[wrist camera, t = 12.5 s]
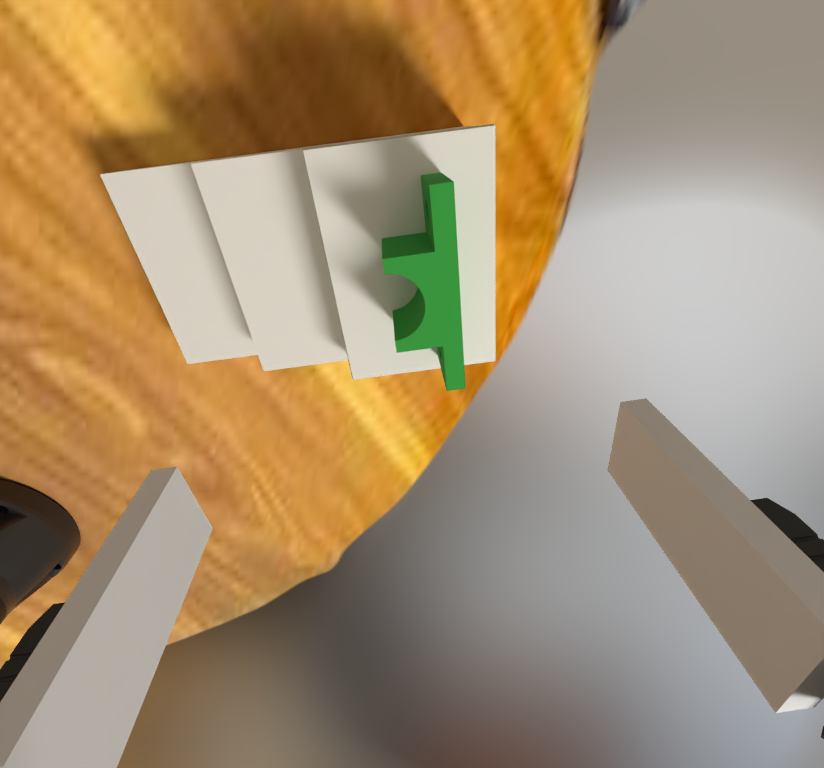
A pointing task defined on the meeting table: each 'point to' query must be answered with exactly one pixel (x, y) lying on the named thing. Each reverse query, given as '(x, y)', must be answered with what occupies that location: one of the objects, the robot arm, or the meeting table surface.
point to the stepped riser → (310, 248)
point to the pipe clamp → (431, 282)
